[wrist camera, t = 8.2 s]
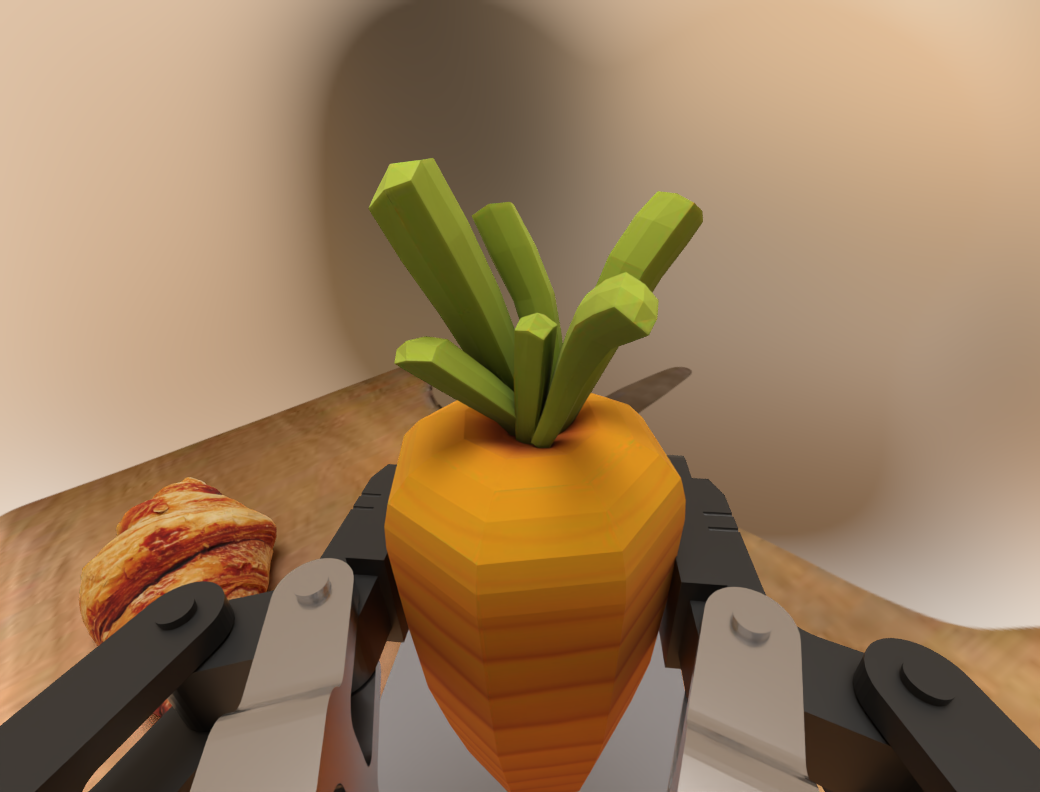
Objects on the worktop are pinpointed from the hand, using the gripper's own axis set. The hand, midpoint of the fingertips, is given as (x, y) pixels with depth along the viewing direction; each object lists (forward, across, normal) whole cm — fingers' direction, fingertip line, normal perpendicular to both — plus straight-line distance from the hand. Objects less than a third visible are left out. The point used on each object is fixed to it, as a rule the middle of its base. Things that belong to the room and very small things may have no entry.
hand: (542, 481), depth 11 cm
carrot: (-3, 0, +8) cm, 9 cm away
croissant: (+9, +23, +18) cm, 31 cm away
